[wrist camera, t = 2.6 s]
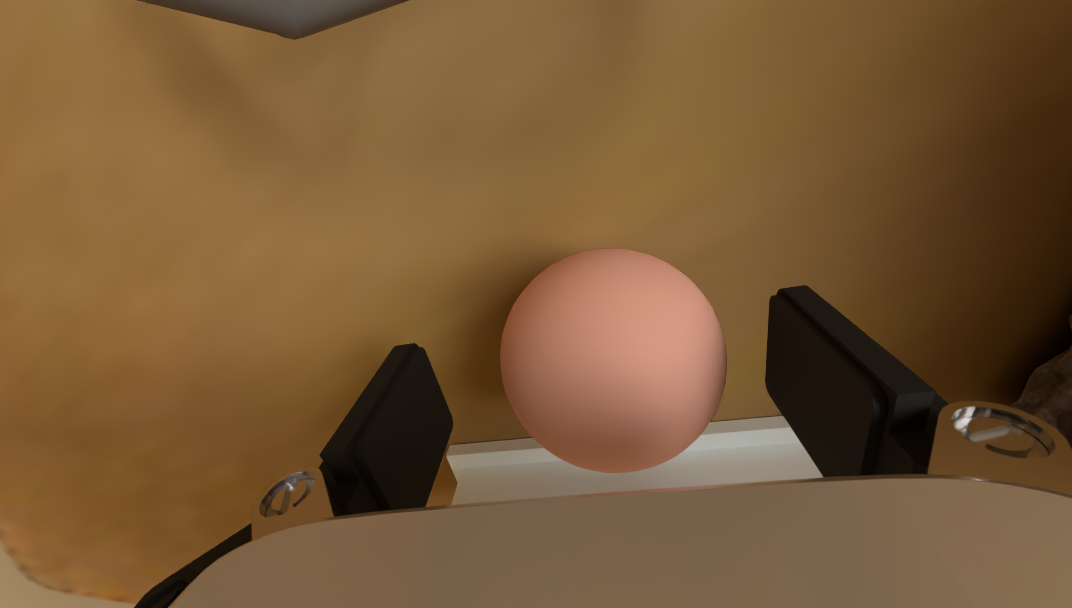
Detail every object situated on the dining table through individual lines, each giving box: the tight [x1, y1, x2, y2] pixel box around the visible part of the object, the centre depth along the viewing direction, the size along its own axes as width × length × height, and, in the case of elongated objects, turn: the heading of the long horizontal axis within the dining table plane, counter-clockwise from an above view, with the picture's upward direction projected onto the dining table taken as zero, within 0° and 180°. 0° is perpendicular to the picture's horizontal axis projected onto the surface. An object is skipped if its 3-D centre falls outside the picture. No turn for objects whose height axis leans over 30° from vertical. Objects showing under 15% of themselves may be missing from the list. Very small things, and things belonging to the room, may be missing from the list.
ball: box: [500, 248, 727, 473], centre depth 11 cm, size 6×6×6 cm
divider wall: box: [446, 416, 823, 505], centre depth 15 cm, size 15×2×5 cm, turn 102°
